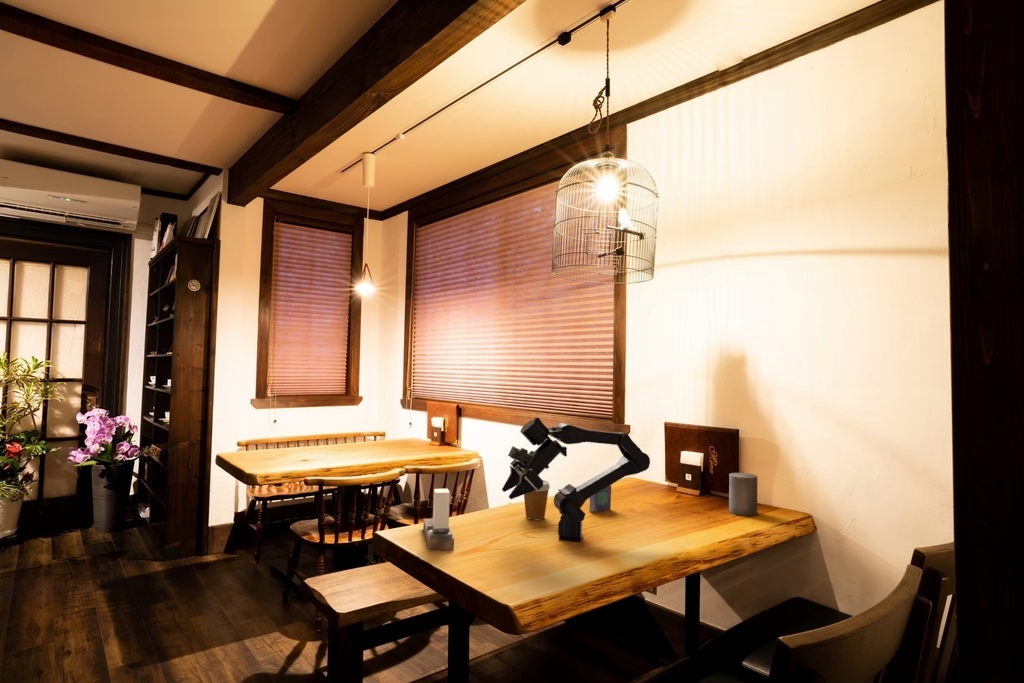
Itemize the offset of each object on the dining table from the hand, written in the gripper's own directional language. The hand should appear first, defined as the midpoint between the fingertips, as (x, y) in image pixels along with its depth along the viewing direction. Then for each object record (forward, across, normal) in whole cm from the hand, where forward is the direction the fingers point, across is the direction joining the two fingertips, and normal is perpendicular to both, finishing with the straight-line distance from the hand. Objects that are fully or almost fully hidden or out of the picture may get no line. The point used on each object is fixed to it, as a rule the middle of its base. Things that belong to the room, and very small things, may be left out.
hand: (506, 494), depth 168 cm
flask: (-19, -29, +39) cm, 52 cm away
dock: (+23, -5, -4) cm, 24 cm away
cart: (+21, 0, -6) cm, 22 cm away
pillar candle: (-56, -19, +76) cm, 96 cm away
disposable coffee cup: (-1, -23, +21) cm, 31 cm away
